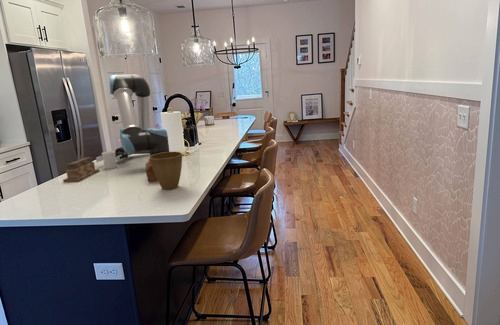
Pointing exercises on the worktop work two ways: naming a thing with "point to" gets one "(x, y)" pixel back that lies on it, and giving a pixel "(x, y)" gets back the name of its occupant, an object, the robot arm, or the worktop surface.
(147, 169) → the bread
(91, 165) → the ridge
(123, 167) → the worktop surface
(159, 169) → the plant pot
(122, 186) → the worktop surface
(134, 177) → the worktop surface
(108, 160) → the white cup
